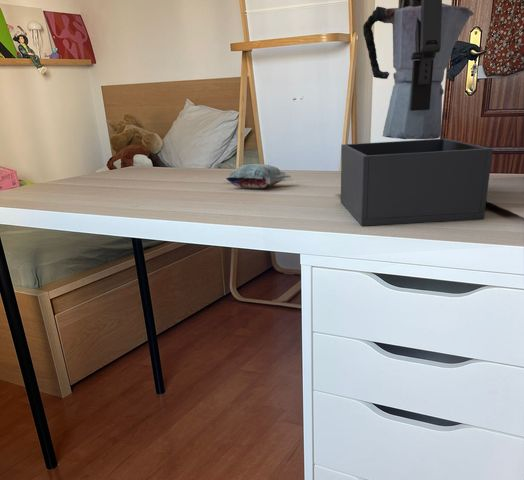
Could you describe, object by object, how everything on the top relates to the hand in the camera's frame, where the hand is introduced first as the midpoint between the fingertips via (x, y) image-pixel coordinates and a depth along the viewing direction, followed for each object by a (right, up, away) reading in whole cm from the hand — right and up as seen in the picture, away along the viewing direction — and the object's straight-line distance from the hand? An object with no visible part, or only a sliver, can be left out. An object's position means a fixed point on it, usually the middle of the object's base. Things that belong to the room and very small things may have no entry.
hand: (411, 109), depth 82 cm
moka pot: (0, -4, +2) cm, 4 cm away
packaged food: (-24, -1, +36) cm, 44 cm away
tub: (+1, -14, +7) cm, 15 cm away
